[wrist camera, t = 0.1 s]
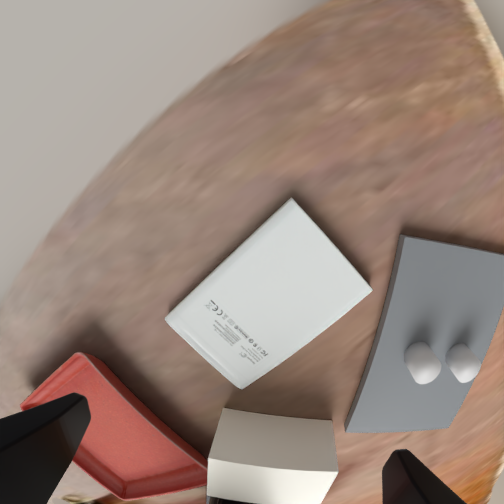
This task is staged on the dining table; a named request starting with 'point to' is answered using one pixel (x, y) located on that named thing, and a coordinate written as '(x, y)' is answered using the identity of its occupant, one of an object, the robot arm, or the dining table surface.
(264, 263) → the external hard drive
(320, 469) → the block
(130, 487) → the plant saucer
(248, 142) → the dining table surface
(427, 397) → the base plate
